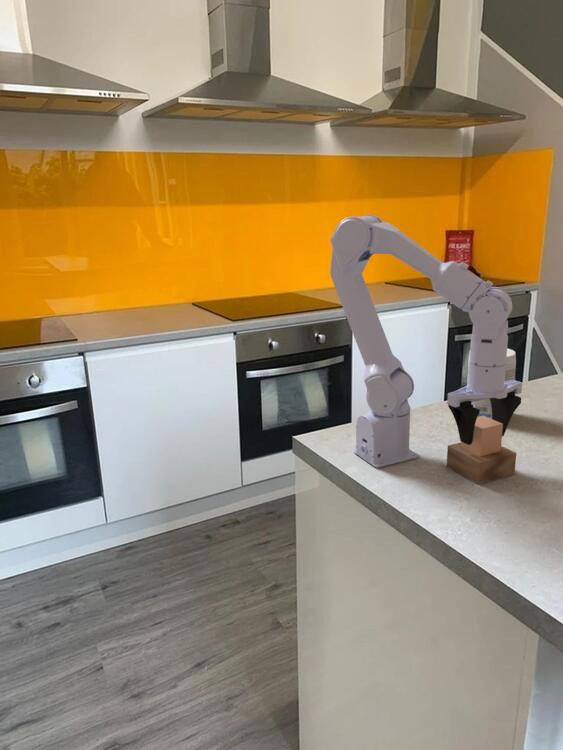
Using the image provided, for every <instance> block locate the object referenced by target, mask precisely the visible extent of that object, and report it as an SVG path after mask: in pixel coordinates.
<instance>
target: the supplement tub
mask: <svg viewBox="0 0 563 750" xmlns="http://www.w3.org/2000/svg"><path fill="white" fill-rule="evenodd" d="M516 353H517V352H516V351H515V350H513V349H511V348H507V357H506V368H505V381H510V380H515V381H516V369H517V368H516V366H517V358H516V356H517V355H516ZM469 362H470V351H469V353H468V362H467V383H466V384H467V385H468V379H469ZM467 385H466V386H467ZM471 405H473V407H474V408H477V409H479V410H480V412H479V414H478V417H479V416H486V417H488V418H490V419H492V408H491V402H490V398H489V399H484V400H479V401H475V402H472V404H471Z"/></svg>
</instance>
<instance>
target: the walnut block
mask: <svg viewBox="0 0 563 750" xmlns="http://www.w3.org/2000/svg"><path fill="white" fill-rule="evenodd" d="M461 444H462V442H461V441H460V442H458V443H454V444H453V443H452V444H448V445H447V451H446V467H447V468H449V469H450V470H452V471H454V472H456V473H458V474H459V475H460V476H463V477H464V478H466V479H468V480H469V481H471V482H473V483H474V484H476V485H483V484H486V483H490V482H492V481H496V480H500V479H503V478H507V477H511V476H513V475H515V473H516V472H515V471H516V465H517V464H516V463H517V462H516V461H517V452H515V451H513V450H511V449H509V448H507V447H504V446H503V445H501V451H499V452H495V453H491V454H488V455H484V456H478V455H476V454H474V453H472V452H470V451H468V450H466V449H465V448H463V447H461Z"/></svg>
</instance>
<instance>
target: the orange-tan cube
mask: <svg viewBox="0 0 563 750" xmlns="http://www.w3.org/2000/svg"><path fill="white" fill-rule="evenodd" d="M502 430H503V424H502V423H500V422H497V421H495V420H493V419H490V418H488V417H486V416H479V417H477V419H476V423H475V427H474V435H473V441H472V444H470V445H467V444H465V443H463V442H462V444H461V447H463V448H465V449H466V450H468V451H470V452H472V453H474V454H476V455H478V456H484V455H488V454H491V453H495V452H499V451H501V446H502V439H503V436H502Z"/></svg>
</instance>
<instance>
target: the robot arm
mask: <svg viewBox="0 0 563 750" xmlns="http://www.w3.org/2000/svg"><path fill="white" fill-rule="evenodd" d="M329 240H330V244H331V248H332V249H331V259H330V260H331V261H330V270H329V271H330V273H329V274H330V278H331V281H332V283H333V286H334V289H335V291H336V293H337V296H338V298H339V301H340V304H341V306H342V309H343V311H344V314H345V316H346V319H347V322H348V325H349V328H350V329H351V332H352V335H353V337H354V340H355V342H356V345H357V348H358V350H359V353H360V355H361V358H362V360H363V363H364V365H365V368H364V369H365V370H364V379H363V381H364V384H365V387H366V396H365V397H366V404H367V405H368V406H369V407H368V408H370V410H368V411H367V412H366V413H365V414H362V415H360V416H359V417H358V418H357V420H356V424H355V425H356V428H355V431H356V432H355V435H356V436H355V437H356V438H355V443H356V444H355V449H354V450H353V452H354V454H356V455H358V456H359V457H360V458H362V460H365V461H366V462H367V463H369V464H370V465H372V466H373V467H375V468H378V469H379V468H382V467H387V466H390V465H395V464H398V463H402V462H407V461H410V460H414V459H418V458H419V457H420V454H419V453H417V452H415V451H413V450H411V449H410V437H411V435H410V434H411V433H410V431H411V406H410V404H409V398H411V396H412V395H413V393H414V390H415V383H414V380H413V378H412V375H410V373H409V372H408V371H406V370H405V368H404V367H403V365H402V362H401V360H399V359H398V357H396V356H395V355H394V354H393V351H392V348H391V347H390V344H389V341H388V338H387V335H386V333H385V331H384V328H383V325H382V323H381V320H380V317H379V314H378V312H377V310H376V308H375V305H374V302H373V299H372V296H371V295H370V294H371V293H370V291H369V288H368V287H367V283H366V281H365V278H364V276H363V273H364V271H365V269H366V267H367V265H368V262H369V260H370V258H372V256H373V255H374V254H375V255H391V256H393V257H395V258H397V259H398V260H399V261H401V262H403V263H405V264H406V265H407V266H408V267H409V266H410V267H411V268H412V269H413V270H415V271H417V272H419V273H420V274H422V275H423V276H425V277H427V278H429V280H430V282H431V287H432V290H433V292H436V293H437V294H438V295H440V296H441V297H442V298H444V299H445V300H447V301H448V302H449V303H451V304H453V305H454V306H455V307H457V308H458V309H460V310H462V312H467V313H468V316H469V318H470V321H471V322H472V333H471V334H470V335H471V336H470V349H469V352H470V362H469V379H468V385H465V386H464V387H460V388H459V389H457V390H454V391H451V392H448V393H447V405H448V408H449V410H450V412H451V414H452V415H453V419H454V421H455V424H456V426H457V431H458V436H459V440H460V441H459V442H460V443H461V442H463V443H465V444H467V445H470V444H472V441H473V435H474V427H475V423H476V419H477V417H478V414H479V412H480V410H479V409H477V408H474V407H473V405H471V404H472V402H475V401H479V400H484V399H489V398H490V402H491V408H492V419H493V420H495V421H497V422H500V423H502V424H503V430H502V437H504V436H505V433H506V430H507V428H508V426H509V423H510V422H511V421H510V420H511V419H512V417H513V416H514V413H515V411H516V410H517V409H518V407H520V405H521V404H522V398H521V396H518V395H519V394H522V390H523V389H522V387H523V382H521V381H517V380H516V379H515V380H510V381H505V368H506V357H507V349H508V342H509V336H508V331H509V324H508V323H509V320H508V318H509V316H510V314H511V313H512V309H513V301H512V298H511V296H510V295H509V293H508V292H506V291H505V289H504V288H502V287H500V286H499V287H498V286H493V285H494V283H493V282H492V281H490V280H489V279H488V280H487V281H485V280H483V279H482V278H480V277H479V276H477V274H475V273H473V272H472V271H470V269H469V264H467V263H466V262H464V261H462V262H460V263H458V262H457V261H456V260H455V261H454V260H451V261H447V262H443V261H441V260H440V259H439V258H437V257H436V256H435V255H433V254H432V253H430V252H429V251H428V250H426V248H424V247H422V246H421V245H419V244H418V243H417V242H416V241H415V240H413V239H412V238H410V237H409V236H408V235H406V234H405V233H404V232H402V231H401V230H399V228H397V227H396V226H394V225H393V224H392V223H389V222H386V221H383V220H382V219H381V218H380V217H379V216H376V215H373V214H366V215H362V216H349V217H348V216H347V217H346V218H344V219H342V220H341V221H340V222H339V223H338V224H337V225H336V228H335V229H334V231H333V233H332V236H331V237H330V239H329ZM468 269H469V270H468Z"/></svg>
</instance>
